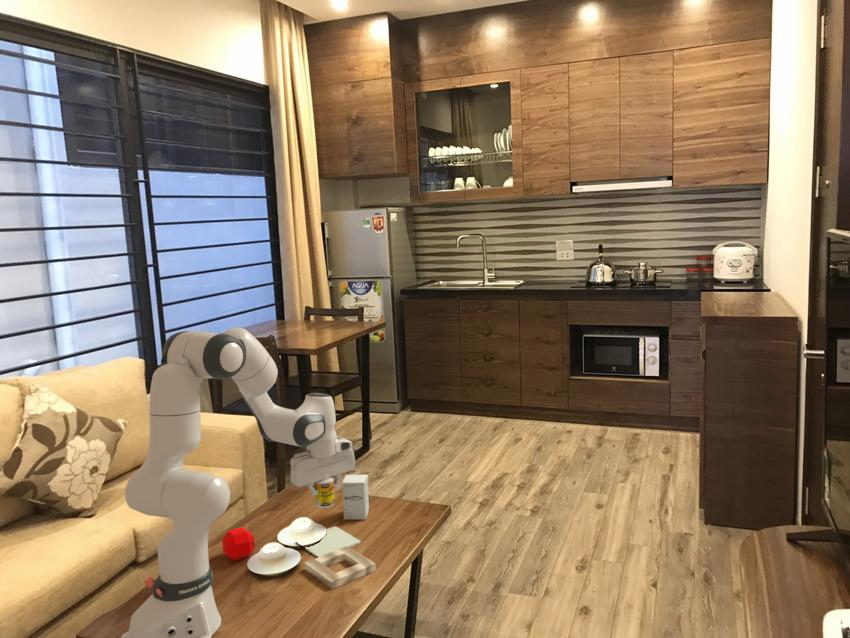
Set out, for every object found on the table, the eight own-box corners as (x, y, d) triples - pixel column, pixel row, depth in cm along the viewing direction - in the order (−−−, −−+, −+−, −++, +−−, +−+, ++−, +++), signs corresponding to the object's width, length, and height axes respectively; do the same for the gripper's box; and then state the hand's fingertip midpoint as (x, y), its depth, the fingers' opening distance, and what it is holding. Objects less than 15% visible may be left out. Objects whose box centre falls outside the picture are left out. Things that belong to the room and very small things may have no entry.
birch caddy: (332, 589, 178) (331, 582, 178) (304, 569, 189) (304, 562, 188) (375, 570, 187) (375, 563, 186) (347, 552, 197) (347, 545, 197)
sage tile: (320, 559, 194) (319, 557, 194) (295, 542, 205) (295, 540, 204) (360, 543, 203) (360, 541, 203) (335, 527, 213) (335, 526, 213)
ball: (257, 557, 196) (255, 532, 195) (230, 566, 192) (228, 540, 191) (248, 546, 203) (246, 522, 202) (221, 554, 199) (219, 530, 198)
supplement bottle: (320, 510, 198) (318, 476, 197) (312, 504, 203) (310, 471, 201) (338, 505, 201) (336, 472, 200) (330, 499, 206) (327, 466, 204)
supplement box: (343, 520, 219) (341, 482, 217) (347, 510, 226) (345, 473, 224) (366, 520, 218) (364, 482, 216) (369, 510, 225) (367, 473, 223)
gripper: (295, 458, 190) (298, 505, 192) (356, 441, 203) (359, 485, 205) (284, 453, 195) (288, 499, 197) (345, 436, 208) (347, 479, 210)
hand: (324, 492), depth 201 cm, fingers closed on supplement bottle, 6 cm apart
